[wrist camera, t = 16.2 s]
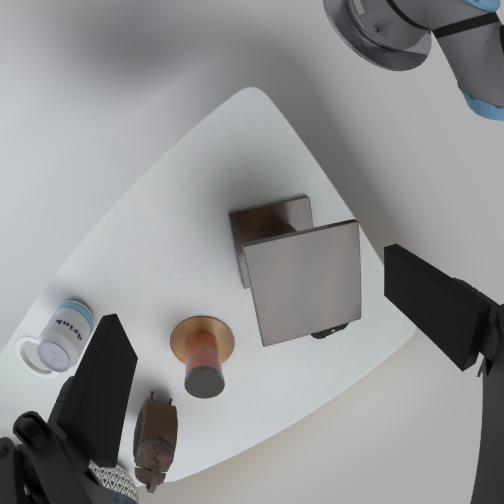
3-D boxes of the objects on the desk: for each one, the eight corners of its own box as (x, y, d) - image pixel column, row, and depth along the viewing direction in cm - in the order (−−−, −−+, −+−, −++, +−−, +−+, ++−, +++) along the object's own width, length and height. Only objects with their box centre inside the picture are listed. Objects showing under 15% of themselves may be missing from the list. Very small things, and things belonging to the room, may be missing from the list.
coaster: (226, 309, 48) (226, 310, 48) (239, 359, 52) (240, 361, 52) (162, 323, 47) (161, 324, 47) (181, 371, 51) (181, 373, 51)
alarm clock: (143, 379, 50) (132, 466, 32) (180, 388, 52) (180, 475, 34) (134, 421, 54) (126, 497, 36) (166, 429, 56) (165, 504, 37)
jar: (214, 327, 49) (219, 367, 39) (222, 353, 51) (228, 394, 41) (181, 334, 48) (179, 375, 38) (191, 360, 50) (191, 401, 41)
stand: (307, 196, 44) (358, 221, 29) (315, 268, 48) (361, 318, 34) (227, 212, 43) (242, 246, 28) (243, 285, 47) (263, 347, 32)
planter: (89, 438, 55) (75, 508, 35) (154, 468, 61) (153, 534, 41) (67, 460, 57) (55, 517, 38) (124, 486, 64) (121, 541, 44)
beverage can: (102, 313, 45) (81, 357, 34) (86, 338, 46) (66, 382, 35) (69, 289, 43) (40, 328, 31) (55, 316, 44) (28, 357, 32)
